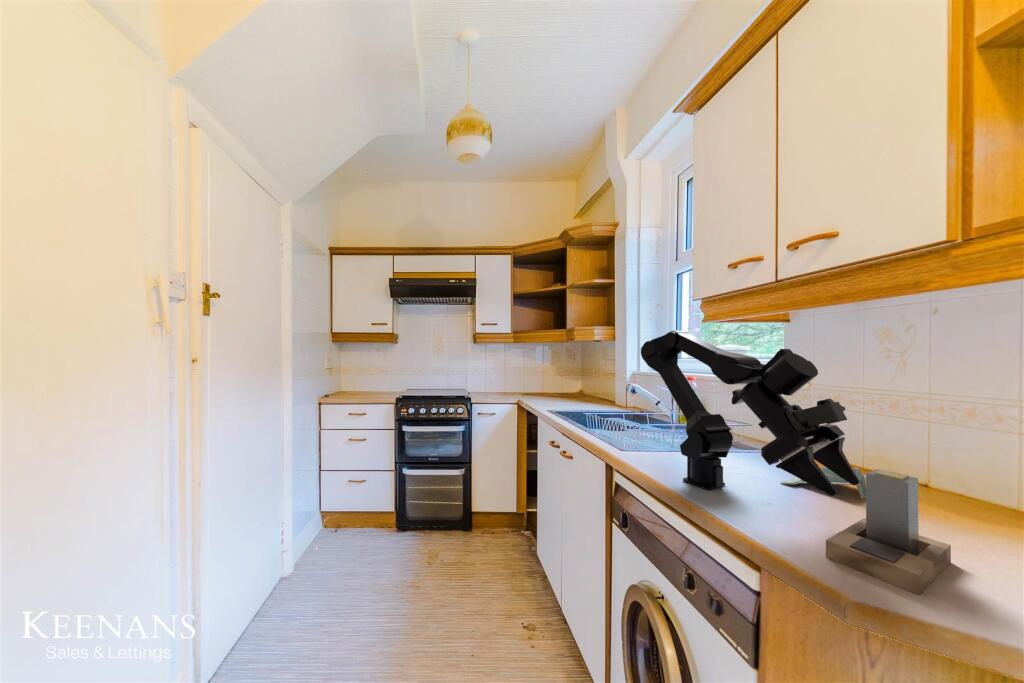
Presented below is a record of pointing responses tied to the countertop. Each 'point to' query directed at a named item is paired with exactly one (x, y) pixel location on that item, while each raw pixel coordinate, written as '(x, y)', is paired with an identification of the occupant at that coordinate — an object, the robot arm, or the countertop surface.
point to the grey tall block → (892, 510)
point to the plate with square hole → (889, 558)
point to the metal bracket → (836, 480)
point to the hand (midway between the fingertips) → (846, 489)
